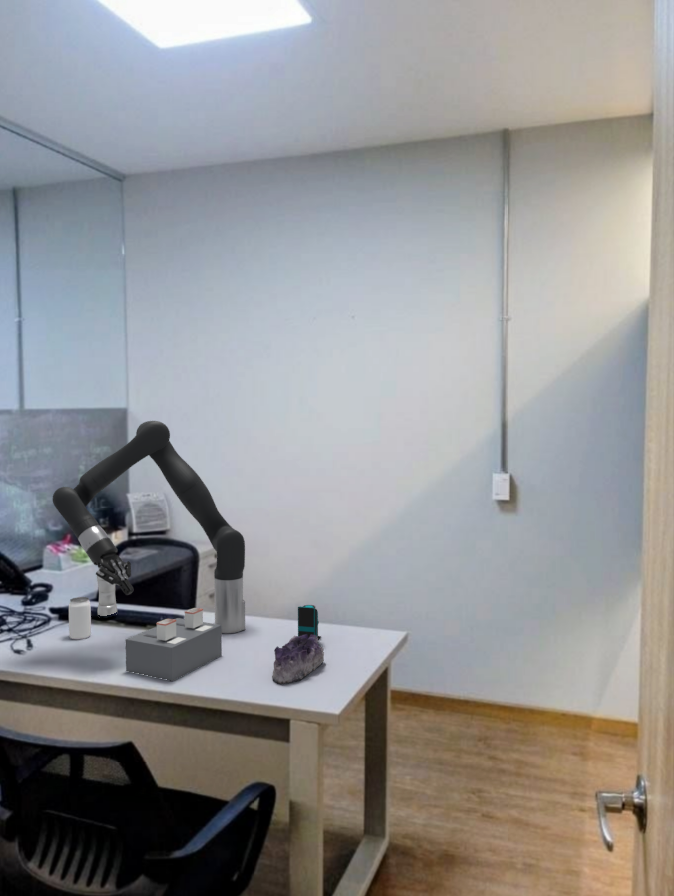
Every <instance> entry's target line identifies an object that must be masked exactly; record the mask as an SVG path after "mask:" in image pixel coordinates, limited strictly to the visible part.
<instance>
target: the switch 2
mask: <svg viewBox="0 0 674 896" xmlns="http://www.w3.org/2000/svg"><path fill="white" fill-rule="evenodd" d="M203 614H204V608H200V607H192V608H189V609H186V610H184V619H185V627H188V628H196V627H198V626H200V625H202V624H203V622H204V616H203Z"/></svg>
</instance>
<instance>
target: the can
mask: <svg viewBox="0 0 674 896" xmlns="http://www.w3.org/2000/svg"><path fill="white" fill-rule="evenodd" d="M69 601H70V602H69V604H68V633H69V634H68V636H69V639H71V640H76V641H77V640H86V639H87V638H88V639H89V638H90V637H91V636H92V635H91V634H92V617H91V616H92V612H91V610H92V609H91V602H90V598H89V597H86V596H78V597H73V598H71V599H70V600H69Z"/></svg>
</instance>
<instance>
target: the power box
mask: <svg viewBox="0 0 674 896" xmlns="http://www.w3.org/2000/svg"><path fill="white" fill-rule="evenodd" d="M174 620H176V636H175V637H173V638H171V639H169V640H166V641H164V640H159V639H157V626H155V627H152V628H150V629H148V630H145V631H142V632H140V633H137V634H134V635H132V636H130V637H127V638H125V672H126V671H129V672H128V673H130V672H134V673H133V674H135V673H139V674H138V675H140V674H144V675H148V676H147V677H149V676H152V677H151V678H154V677H156V678H155V679H159V678H162V679H161V680H163V679H167V680H166V681H168V680H171V681H170V682H174V681H176V680H178V679H180V678H182V677H183V675H184V676H186V675H187V673H188V674H189V673H191V672H193V671H195V670H197V669H199V668H201V667H202V666H204V665H207V664H208V663H210V662H212V661H214V660H216V659H219V657H222V654H223V653H222V651H223V650H222V649H223V647H222V646H223V645H222V642H223V641H222V639H223V638H222V635H223V633H221V625H218V624H215V623H211V622H205V621H203V624H202V625H200V626H198V627H196V628H188V627H185V618H180V617H177V618H174ZM185 674H186V675H185ZM144 675H143V676H144ZM181 676H182V677H181ZM179 677H180V678H179ZM177 678H178V679H177ZM175 679H176V680H175ZM173 680H174V681H173Z"/></svg>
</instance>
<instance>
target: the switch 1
mask: <svg viewBox="0 0 674 896" xmlns="http://www.w3.org/2000/svg"><path fill="white" fill-rule="evenodd" d="M174 619H175V618H174ZM174 619H173V618H165V619H163V620H159V621H157V622H156V623H155V624H156V627H157V639H159V640H164V641H166V640H169V639H171V638H173V637H175V636H176V620H174Z"/></svg>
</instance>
